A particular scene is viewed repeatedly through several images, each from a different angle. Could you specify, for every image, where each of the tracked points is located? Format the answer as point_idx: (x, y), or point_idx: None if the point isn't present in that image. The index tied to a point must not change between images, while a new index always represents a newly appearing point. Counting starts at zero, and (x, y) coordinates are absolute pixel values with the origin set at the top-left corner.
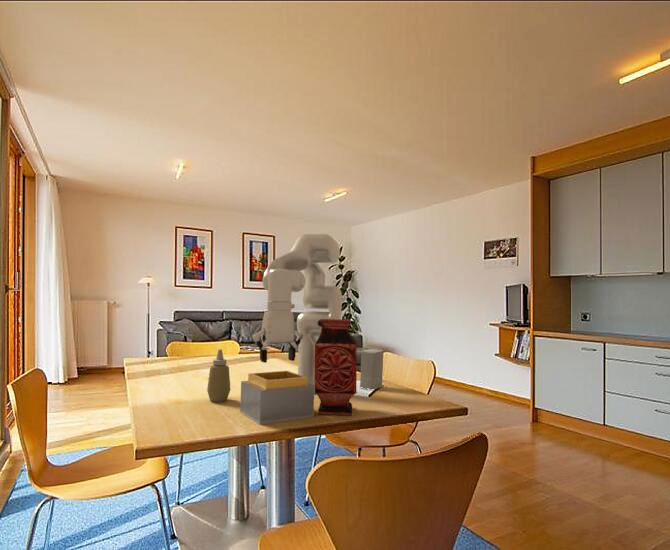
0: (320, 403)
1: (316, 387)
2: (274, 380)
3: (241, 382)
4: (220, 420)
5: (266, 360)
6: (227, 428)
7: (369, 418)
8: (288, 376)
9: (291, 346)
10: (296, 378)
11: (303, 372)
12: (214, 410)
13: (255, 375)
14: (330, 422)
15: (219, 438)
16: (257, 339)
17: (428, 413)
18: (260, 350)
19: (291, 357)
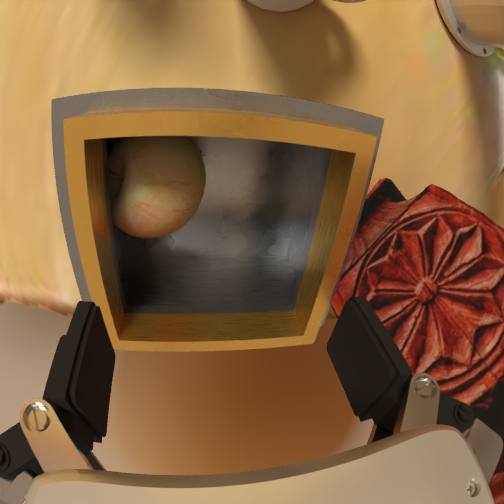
0: (379, 195)
1: (336, 308)
2: (147, 349)
3: (54, 104)
4: (29, 171)
5: (111, 366)
6: (38, 250)
7: None
8: (334, 180)
9: (382, 415)
10: (260, 347)
11: (496, 7)
12: (46, 40)
13: (83, 210)
14: None
15: (27, 302)
16: (11, 496)
17: None
18: (47, 401)
19: (337, 353)
